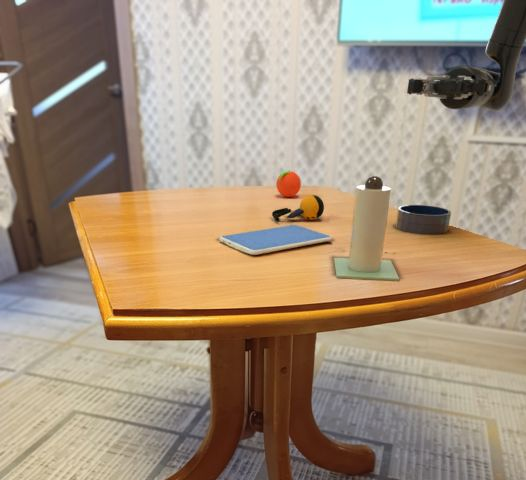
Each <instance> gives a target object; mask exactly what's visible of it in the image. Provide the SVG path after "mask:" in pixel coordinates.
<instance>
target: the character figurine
mask: <svg viewBox="0 0 526 480" xmlns="http://www.w3.org/2000/svg"><path fill="white" fill-rule="evenodd" d="M324 210H325V204H324V201H323V199H322V198H321V197H320V196H319V195H315V194H309V195H307V196H305V197H303V198H302V200H301V201H300V204H299V208H297V209H295V210H294V211H293V212H292V209H291V208H288V207H283V208H278V209H276V210H273V211H272V213H271V216H272V217H273V219H274V221H276V222H279V221H280V218H281V217H283V216H285V215H287V216H286V218H287V219H295V218H297V217H299V216H302V217H303V218H304V219H306V220H308V221H315V220H318V219H319V218H321V217H322V216H323V214H324Z"/></svg>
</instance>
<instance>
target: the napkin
mask: <svg viewBox="0 0 526 480" xmlns="http://www.w3.org/2000/svg"><path fill="white" fill-rule="evenodd" d="M333 264H334V270H335V277H336V279H349V280H370V281H371V280H372V281H391V282H393V281H394V282H399V281H400V277H399V275H398V273H397V270H396V268H395V266H394V264H393V262H392V260H390V259H382V262H381V269H380V270H379V271H376V272H359V271H355V270H352V269H350V268H349V267H348V264H349V257H348V258H347V257H344V258H343V257H334V258H333Z"/></svg>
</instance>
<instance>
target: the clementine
mask: <svg viewBox="0 0 526 480" xmlns="http://www.w3.org/2000/svg"><path fill="white" fill-rule="evenodd" d="M275 185H276V190H277V192H278V194H280V195H281V196H282V197H285V198H291V197H294V196H296V195H297V194H298V193H299V192H300V190H301V186H302V180H301V178H300V176H299V175H298V173H296V172H294V171H291V170H287V171H284V172H282V173H280V174H279V175H278V177H277V179H276V184H275Z"/></svg>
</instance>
